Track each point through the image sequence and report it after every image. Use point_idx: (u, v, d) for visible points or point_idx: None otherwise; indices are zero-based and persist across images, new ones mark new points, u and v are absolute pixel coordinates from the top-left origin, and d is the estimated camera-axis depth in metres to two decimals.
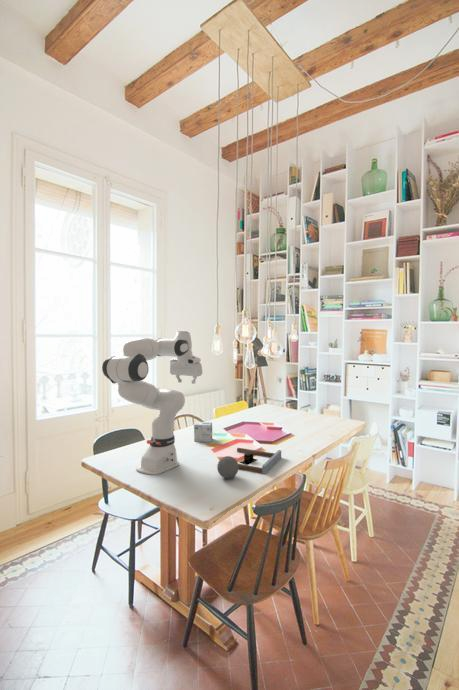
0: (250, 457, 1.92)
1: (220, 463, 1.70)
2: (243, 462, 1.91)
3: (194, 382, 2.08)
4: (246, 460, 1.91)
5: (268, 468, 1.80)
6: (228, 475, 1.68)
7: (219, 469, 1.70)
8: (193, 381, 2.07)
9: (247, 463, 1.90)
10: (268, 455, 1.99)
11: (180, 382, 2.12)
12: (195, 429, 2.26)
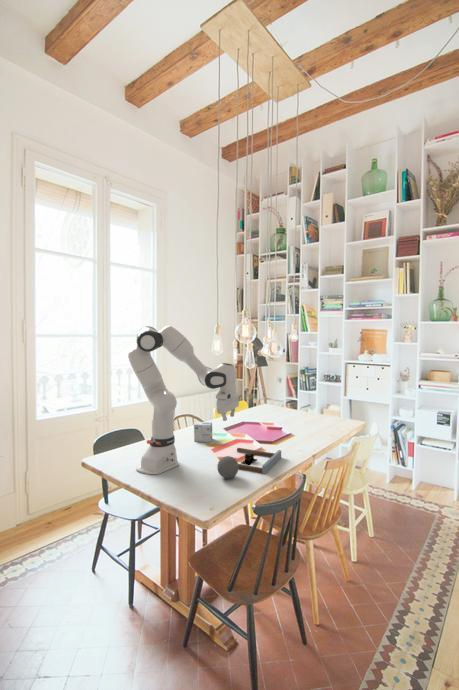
0: (251, 457, 1.92)
1: (220, 463, 1.70)
2: (244, 462, 1.91)
3: (223, 419, 1.93)
4: (247, 460, 1.91)
5: (268, 468, 1.80)
6: (228, 475, 1.68)
7: (219, 469, 1.70)
8: None
9: (249, 463, 1.89)
10: (268, 455, 1.99)
11: (231, 416, 2.01)
12: (195, 429, 2.26)
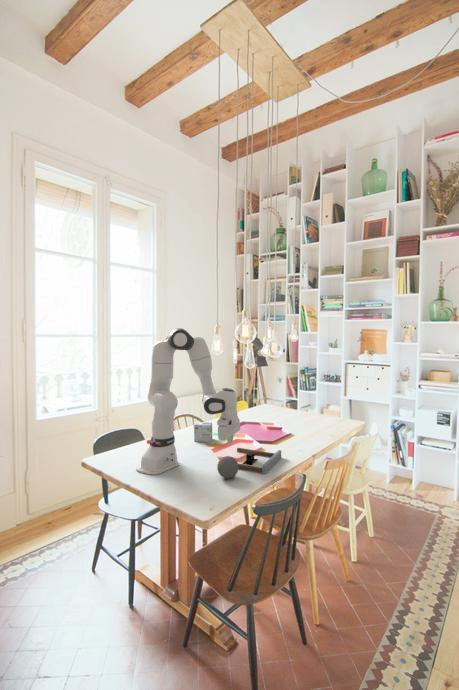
0: (252, 457, 1.92)
1: (220, 463, 1.70)
2: (246, 463, 1.90)
3: (228, 443, 1.97)
4: (249, 460, 1.91)
5: (268, 468, 1.80)
6: (228, 475, 1.68)
7: (219, 469, 1.70)
8: None
9: (251, 463, 1.89)
10: (268, 455, 1.99)
11: None
12: (195, 429, 2.26)
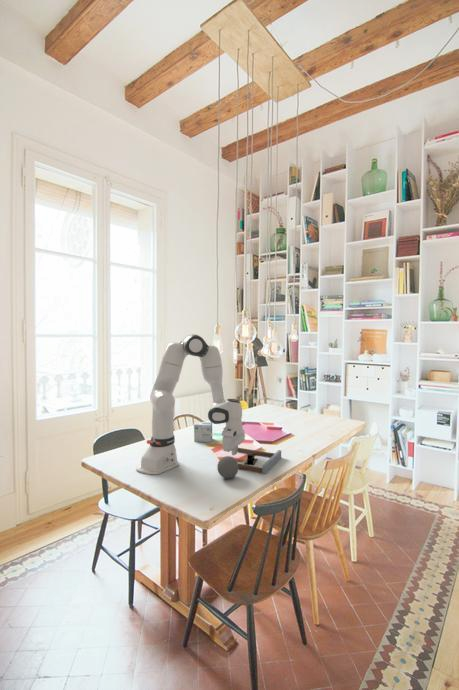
0: (253, 457, 1.92)
1: (220, 463, 1.70)
2: (248, 463, 1.90)
3: (232, 454, 1.96)
4: (250, 461, 1.91)
5: (268, 468, 1.80)
6: (228, 475, 1.68)
7: (219, 469, 1.70)
8: None
9: (252, 463, 1.89)
10: (268, 455, 1.99)
11: None
12: (195, 429, 2.26)
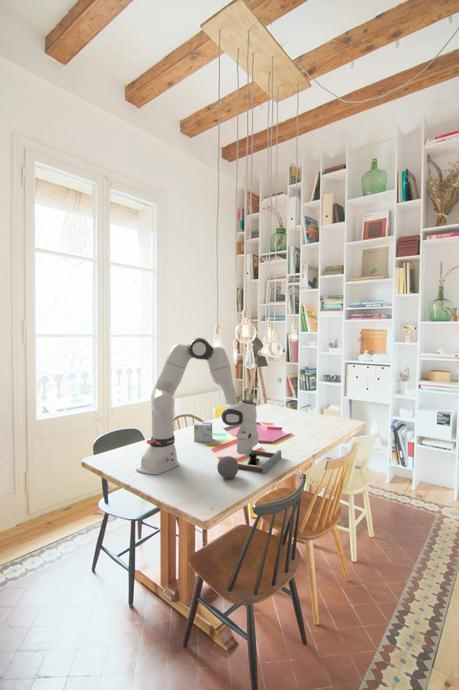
0: (256, 457, 1.92)
1: (220, 463, 1.70)
2: (251, 463, 1.89)
3: (247, 456, 1.92)
4: (253, 461, 1.90)
5: (268, 468, 1.80)
6: (228, 475, 1.68)
7: (219, 469, 1.70)
8: (246, 455, 1.92)
9: (256, 463, 1.89)
10: (268, 455, 1.99)
11: None
12: (195, 429, 2.26)
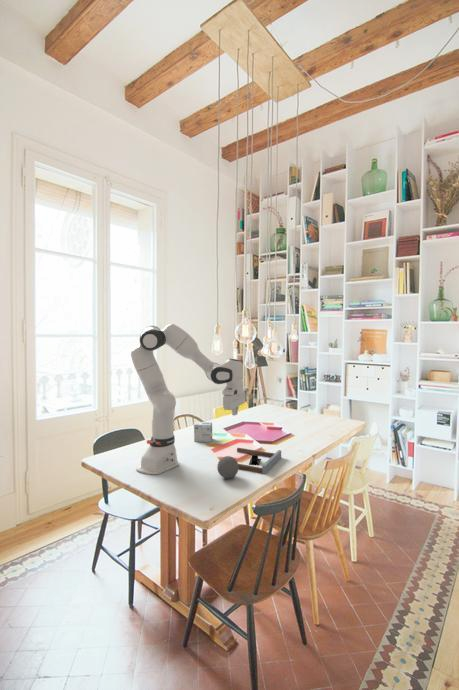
0: (257, 457, 1.92)
1: (220, 463, 1.70)
2: (252, 463, 1.89)
3: (233, 414, 1.94)
4: (254, 461, 1.90)
5: (268, 468, 1.80)
6: (228, 475, 1.68)
7: (219, 469, 1.70)
8: (232, 412, 1.95)
9: (257, 463, 1.89)
10: (268, 455, 1.99)
11: (234, 414, 1.96)
12: (195, 429, 2.26)
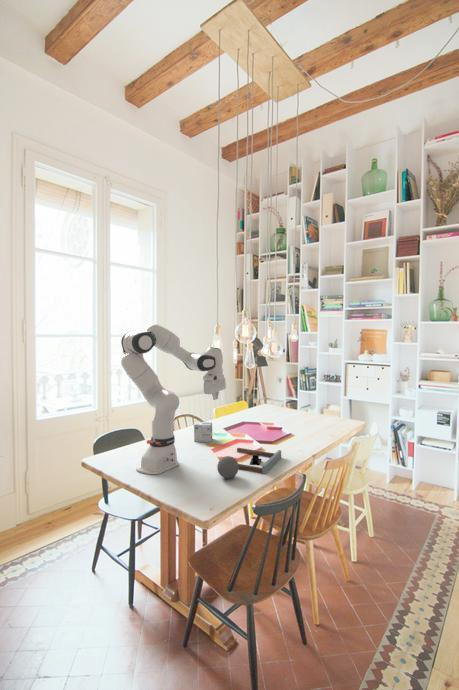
0: (258, 457, 1.92)
1: (220, 463, 1.70)
2: (253, 463, 1.89)
3: (213, 398, 2.09)
4: (255, 461, 1.90)
5: (268, 468, 1.80)
6: (228, 475, 1.68)
7: (219, 469, 1.70)
8: (213, 397, 2.10)
9: (258, 463, 1.89)
10: (268, 455, 1.99)
11: None
12: (195, 429, 2.26)
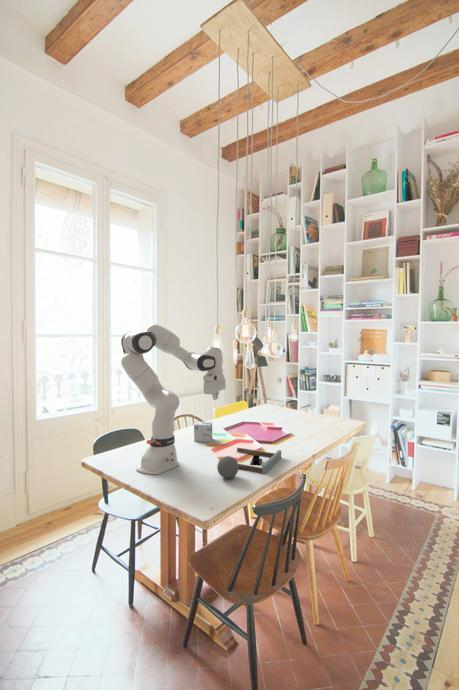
0: (259, 457, 1.92)
1: (220, 463, 1.70)
2: (254, 463, 1.89)
3: (213, 398, 2.09)
4: (256, 461, 1.90)
5: (268, 468, 1.80)
6: (228, 475, 1.68)
7: (219, 469, 1.70)
8: (213, 397, 2.10)
9: (258, 463, 1.89)
10: (268, 455, 1.99)
11: None
12: (195, 429, 2.26)
